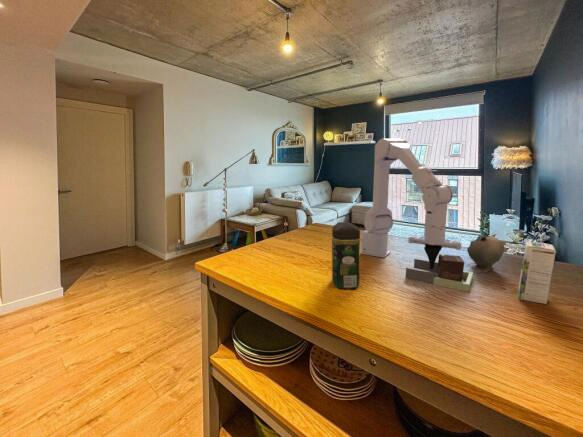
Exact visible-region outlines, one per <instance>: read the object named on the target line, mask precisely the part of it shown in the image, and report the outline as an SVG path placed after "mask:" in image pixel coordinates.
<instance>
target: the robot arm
mask: <svg viewBox="0 0 583 437" xmlns="http://www.w3.org/2000/svg"><path fill="white" fill-rule="evenodd" d="M398 160H399V161H400V162H401V163H402V164H403V165H404V167H405V168H406V169H407V170H408V171H409V172H410V173H411V180H412V182H413V183H414V184H415V186H416V187H417V188H418V189H419V191H420V192H421V193H422V195H421V199H422V202H423V204H424V206H423V207H424V211H425V215H424V216H425V218H424V231H423V236H413V235H410V236H408V244H416V245H417V244H418V245H424V251H425V254H426V256H427V258H428V259H427V260H429V262H430V269H433V268H434V263H435V261H436V260H437V257H439V254H440V252H441V251H442V248H447V249H455V250H457V251H461V249H462V241H456V240H451V239H445V238H446V226H447V214H448V204H450V203H451V202H452V200H453V197H454V196H453V195H454V194H453V190H452V189H451V186H450V185H448V184H443V182H441V181H440V179H438V178H437V177H436V176H435V175H434V173H433V170H432V169H431V168H428V166H427V167H424V166H422V165H421V163H420V162H419V160H418V159H417V157H416V156H415V155H414V153H413V151H412V150H411V144H410V143H409V142H408V140H407V139H405V138H380V139H379V140H378V141H377V143H376V144H375V145H374V167H373V168H374V170H373V194H372V206H371V207H370V209H368V210H367V211H365V212H366V213H365V218H364V221H363V223H364V224H363V226H364V228H365V230H364V231H363V232H362V235H361V250H360V251H361V252H360V254H361V255H367V256H373V257H377V258H385V257H387V256H388V255H389V254H390V253H391V251H390V250H388V243H389V242H388V241H389V240H388V239H389V237H388V236H389V232H390V230H391V229H392V228H393V227H394V226H393V225H394V219H393V212H392V210H391V209H390V208H388V204H389V203H388V200H389V186H390V185H389V180H390V168H391V167H390V166H391V165H392V164H393V163H394V162H396V161H398Z"/></svg>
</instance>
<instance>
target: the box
mask: <svg viewBox="0 0 583 437" xmlns="http://www.w3.org/2000/svg"><path fill="white" fill-rule="evenodd" d="M437 260H438V261H437V262H438V270H437V273H436V277H438V278H443V279H448V280H454V281H459V282H463V279H464V278H463V271H465V270H464V269H465V261H464V259H463V258H462V257H461V255H454V254H453V255H452V254H451V255H450V254H440V253H439V254H438V259H437Z"/></svg>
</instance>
